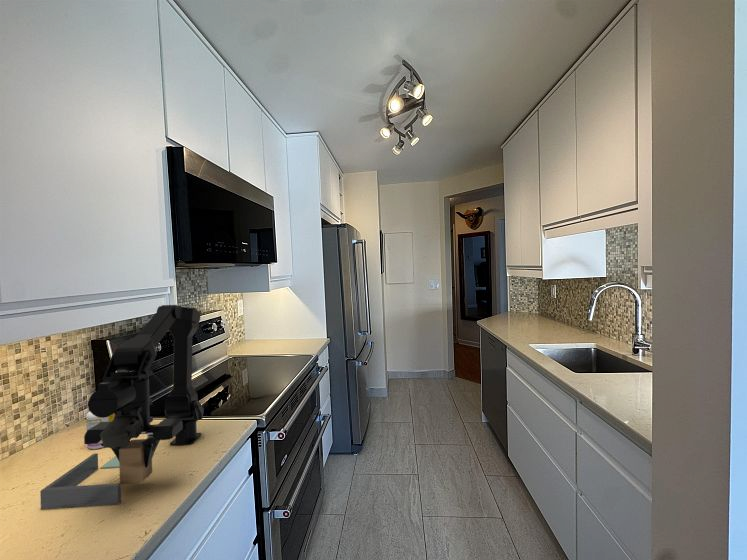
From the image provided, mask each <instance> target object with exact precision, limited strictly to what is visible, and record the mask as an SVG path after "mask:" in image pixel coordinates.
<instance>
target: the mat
mask: <svg viewBox="0 0 747 560" xmlns="http://www.w3.org/2000/svg"><path fill="white" fill-rule="evenodd" d="M117 468H118V469H120V465H119V460H118V459H117V457H116V455H115V456H113V457H112V458H111V459H109V460H108V461H107V462H105V463H104V464H103V465H102V466H100V469H104V470H105V469H117Z"/></svg>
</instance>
